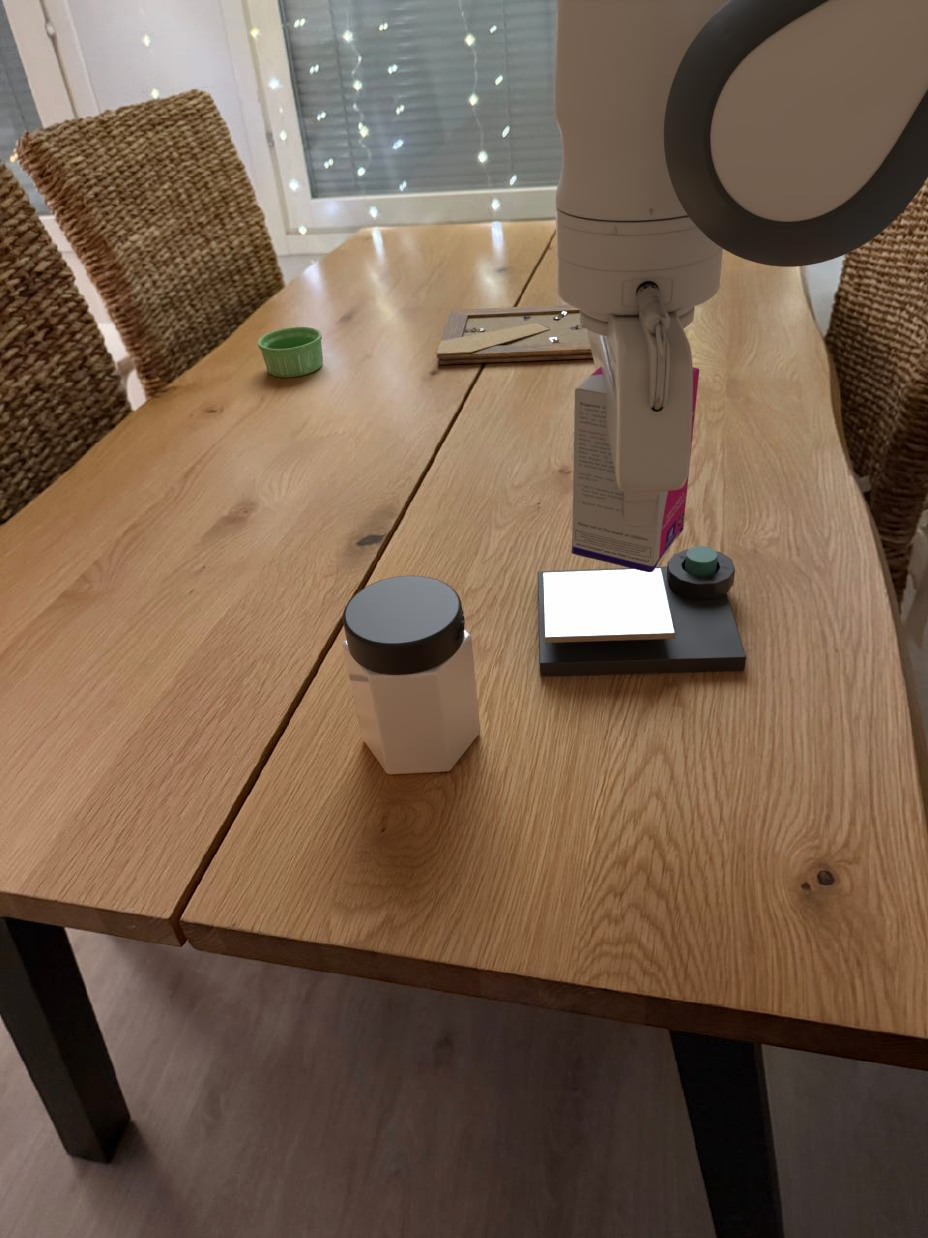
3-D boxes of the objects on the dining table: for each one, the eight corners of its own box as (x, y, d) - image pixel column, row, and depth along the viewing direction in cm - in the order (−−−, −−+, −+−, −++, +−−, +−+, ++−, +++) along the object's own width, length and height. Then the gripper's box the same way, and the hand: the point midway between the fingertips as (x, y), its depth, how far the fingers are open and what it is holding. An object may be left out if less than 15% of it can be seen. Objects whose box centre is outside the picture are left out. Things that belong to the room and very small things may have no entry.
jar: (498, 749, 67) (488, 619, 60) (399, 796, 64) (375, 665, 57) (441, 683, 74) (425, 558, 67) (348, 723, 71) (321, 597, 64)
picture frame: (437, 366, 128) (609, 358, 125) (436, 353, 127) (610, 345, 124) (452, 319, 143) (606, 312, 140) (451, 308, 142) (606, 300, 138)
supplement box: (656, 575, 57) (665, 402, 50) (569, 554, 60) (567, 387, 53) (688, 530, 61) (701, 363, 54) (605, 512, 64) (607, 351, 57)
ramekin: (332, 354, 135) (327, 324, 132) (319, 378, 128) (313, 347, 125) (273, 356, 136) (267, 327, 133) (256, 381, 129) (249, 350, 126)
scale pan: (660, 573, 78) (661, 567, 78) (674, 639, 71) (675, 633, 71) (543, 578, 79) (543, 572, 79) (545, 643, 72) (544, 637, 72)
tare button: (713, 560, 80) (715, 545, 79) (718, 577, 78) (720, 561, 77) (683, 561, 80) (684, 546, 79) (687, 578, 78) (688, 563, 77)
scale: (725, 575, 83) (728, 546, 81) (754, 670, 72) (758, 640, 70) (538, 582, 84) (536, 554, 82) (540, 676, 74) (538, 647, 72)
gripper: (735, 320, 41) (709, 575, 49) (671, 206, 57) (660, 413, 66) (593, 328, 42) (591, 580, 50) (569, 214, 58) (571, 418, 66)
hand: (630, 484), depth 58 cm, fingers closed on supplement box, 7 cm apart
